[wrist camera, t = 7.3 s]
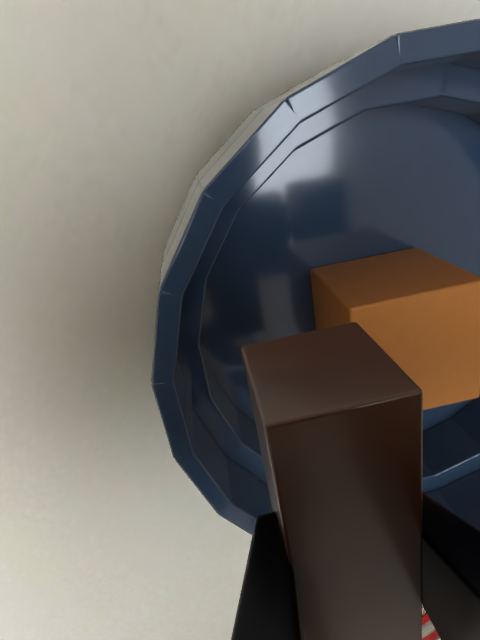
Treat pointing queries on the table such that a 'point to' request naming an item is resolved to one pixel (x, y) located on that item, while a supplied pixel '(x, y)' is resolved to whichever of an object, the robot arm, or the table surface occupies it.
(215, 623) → the table surface
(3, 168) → the table surface
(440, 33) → the bowl
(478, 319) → the block
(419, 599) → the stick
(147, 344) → the table surface
